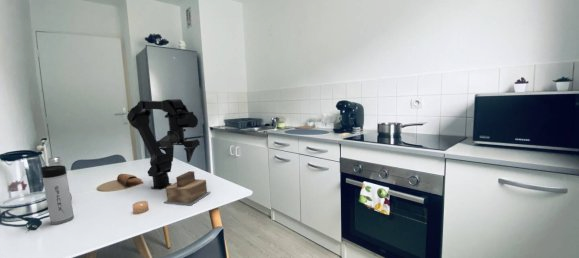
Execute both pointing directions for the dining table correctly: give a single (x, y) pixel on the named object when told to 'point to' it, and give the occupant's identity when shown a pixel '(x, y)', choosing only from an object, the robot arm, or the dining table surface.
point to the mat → (188, 203)
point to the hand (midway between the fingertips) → (180, 162)
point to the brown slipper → (129, 180)
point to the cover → (186, 189)
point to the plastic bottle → (55, 162)
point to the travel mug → (57, 194)
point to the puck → (140, 207)
